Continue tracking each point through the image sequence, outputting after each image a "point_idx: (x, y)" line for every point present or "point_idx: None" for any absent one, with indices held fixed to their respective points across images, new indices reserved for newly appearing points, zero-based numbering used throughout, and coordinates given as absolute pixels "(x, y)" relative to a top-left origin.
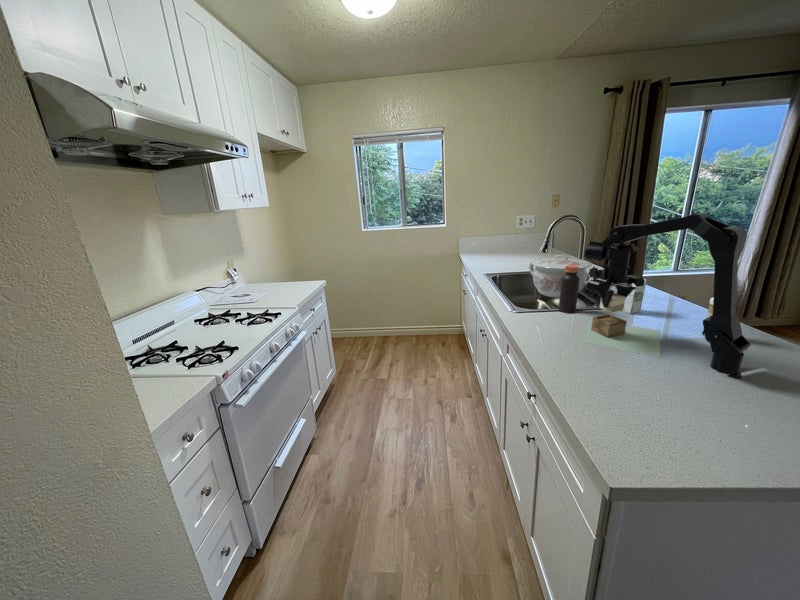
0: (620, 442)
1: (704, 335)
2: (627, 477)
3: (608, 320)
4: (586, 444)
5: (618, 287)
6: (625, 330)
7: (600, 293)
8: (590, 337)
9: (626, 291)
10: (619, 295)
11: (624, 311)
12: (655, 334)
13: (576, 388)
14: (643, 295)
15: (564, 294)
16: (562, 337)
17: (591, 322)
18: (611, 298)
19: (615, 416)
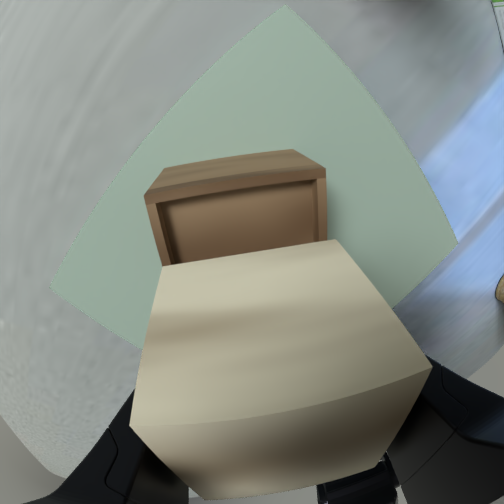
0: (65, 467)
1: (499, 282)
2: (63, 476)
3: (249, 240)
4: (37, 458)
5: (485, 477)
6: (352, 212)
7: (71, 493)
8: (109, 258)
9: (415, 499)
10: (372, 449)
11: (500, 26)
12: (415, 275)
13: (28, 420)
14: None
15: None
16: (11, 210)
17: (257, 47)
18: (198, 487)
19: (69, 457)
